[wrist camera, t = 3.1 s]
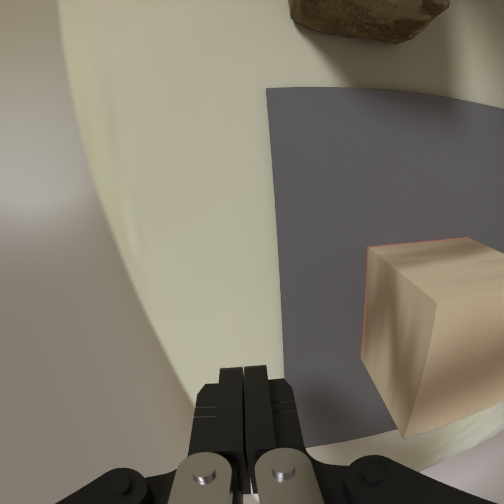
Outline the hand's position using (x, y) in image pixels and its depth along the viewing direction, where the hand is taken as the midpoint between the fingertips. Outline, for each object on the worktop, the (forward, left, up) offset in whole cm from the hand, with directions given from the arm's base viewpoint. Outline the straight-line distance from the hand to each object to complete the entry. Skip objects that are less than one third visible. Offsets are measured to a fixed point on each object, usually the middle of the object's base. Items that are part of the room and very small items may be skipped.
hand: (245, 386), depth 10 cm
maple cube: (0, +9, -5) cm, 10 cm away
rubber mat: (0, +15, -5) cm, 16 cm away
